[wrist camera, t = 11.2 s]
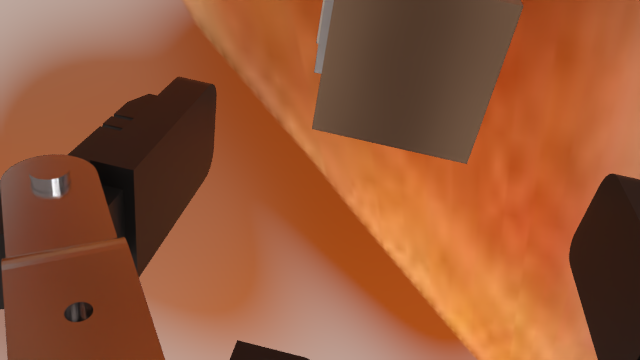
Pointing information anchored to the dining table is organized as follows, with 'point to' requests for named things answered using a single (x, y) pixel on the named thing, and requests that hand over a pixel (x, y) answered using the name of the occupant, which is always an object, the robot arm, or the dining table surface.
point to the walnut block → (413, 71)
